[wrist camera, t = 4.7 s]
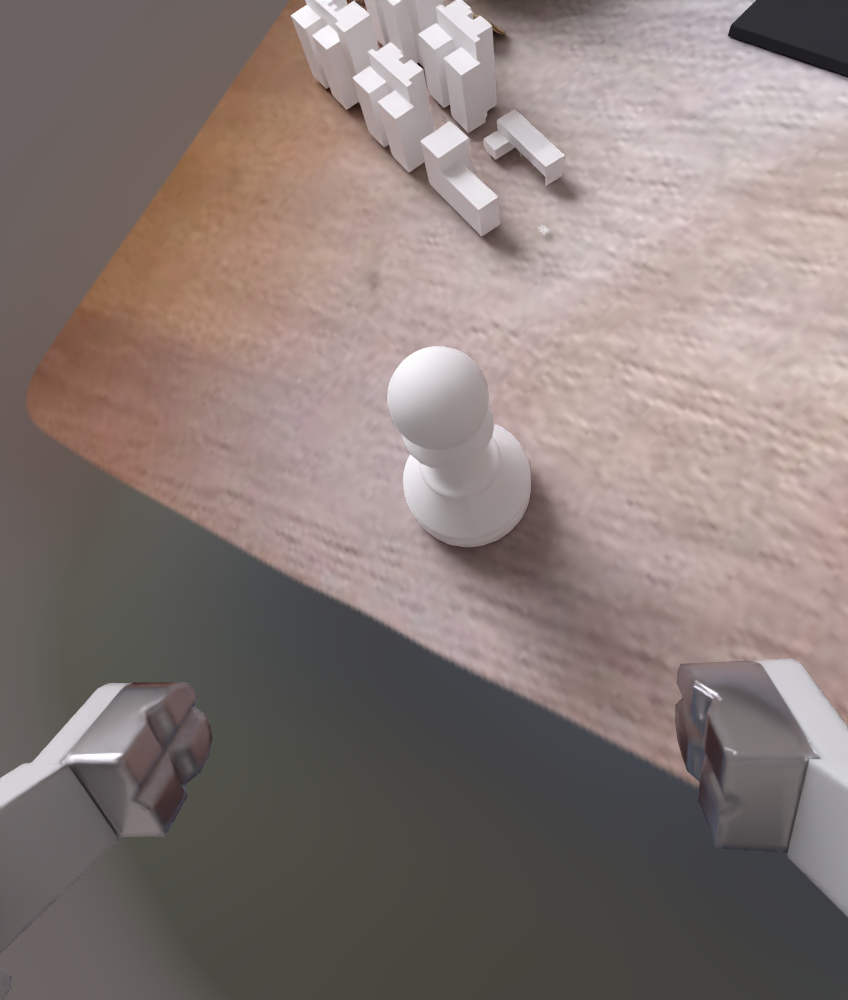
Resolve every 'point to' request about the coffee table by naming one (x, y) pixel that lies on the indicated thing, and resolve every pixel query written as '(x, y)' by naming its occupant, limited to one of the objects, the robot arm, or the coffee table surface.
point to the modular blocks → (422, 90)
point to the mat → (799, 30)
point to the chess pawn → (456, 450)
